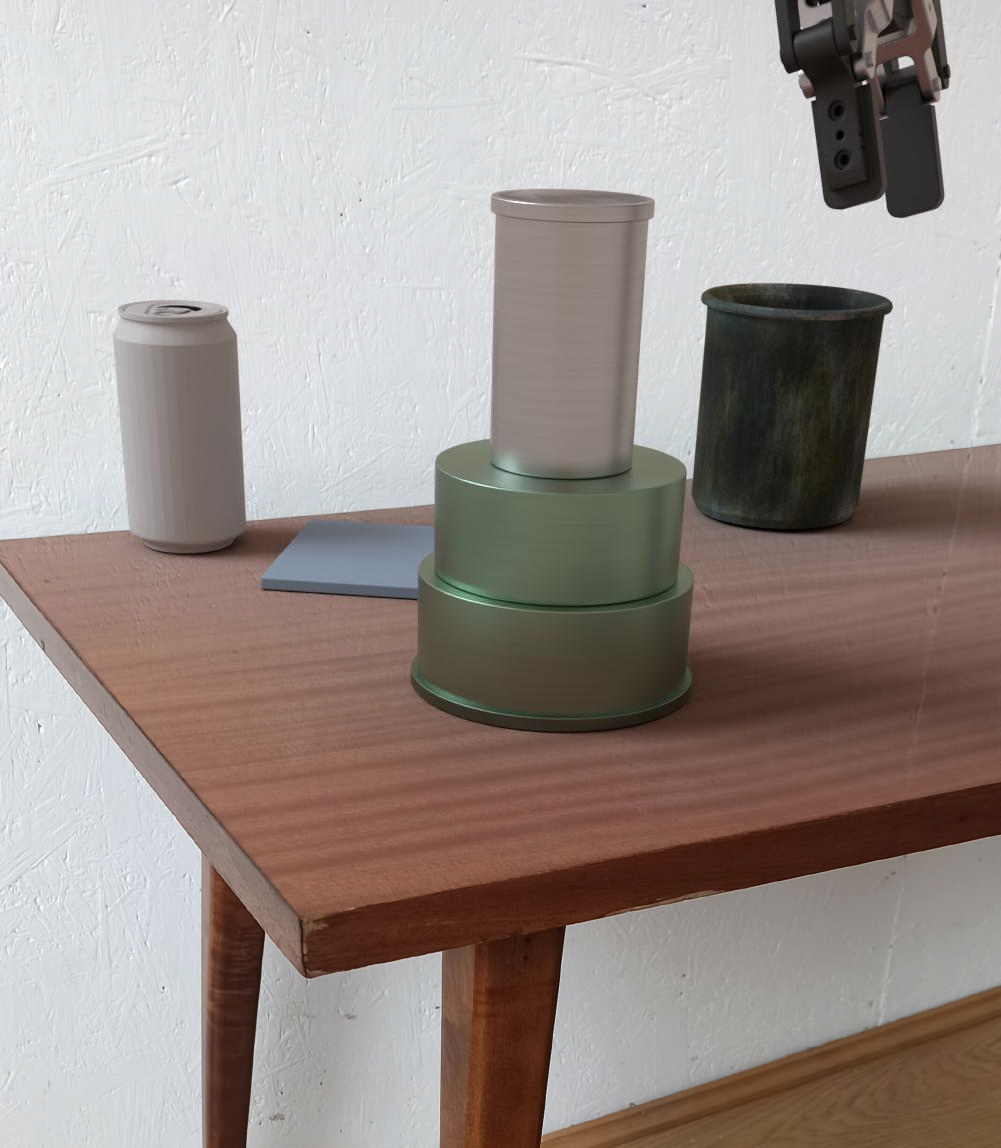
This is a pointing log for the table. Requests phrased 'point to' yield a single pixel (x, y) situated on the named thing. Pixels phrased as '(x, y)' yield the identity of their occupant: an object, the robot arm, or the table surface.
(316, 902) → the table surface
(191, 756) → the table surface
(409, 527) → the mat
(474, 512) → the green tiered metal tin
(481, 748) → the table surface
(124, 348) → the beverage can
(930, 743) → the table surface
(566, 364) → the silver lidded canister
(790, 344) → the dark green bucket
